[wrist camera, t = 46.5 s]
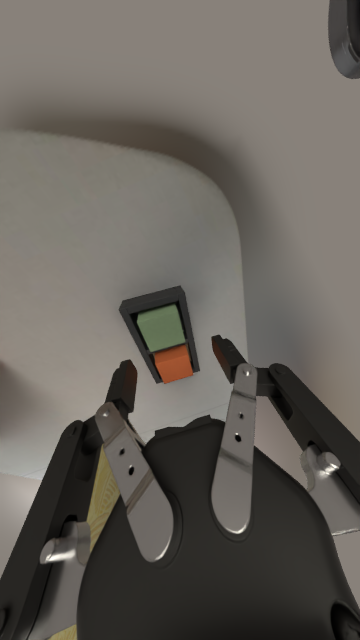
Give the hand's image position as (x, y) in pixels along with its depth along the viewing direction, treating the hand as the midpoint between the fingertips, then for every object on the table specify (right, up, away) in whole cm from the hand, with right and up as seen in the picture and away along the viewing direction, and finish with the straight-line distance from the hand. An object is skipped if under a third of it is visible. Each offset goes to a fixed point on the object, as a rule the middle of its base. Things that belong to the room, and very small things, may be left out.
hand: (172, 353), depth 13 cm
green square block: (-2, +3, +9) cm, 10 cm away
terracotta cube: (-1, -3, +13) cm, 14 cm away
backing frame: (-2, 0, +12) cm, 12 cm away
